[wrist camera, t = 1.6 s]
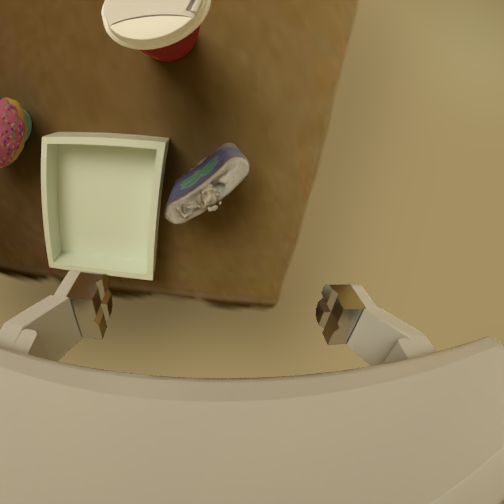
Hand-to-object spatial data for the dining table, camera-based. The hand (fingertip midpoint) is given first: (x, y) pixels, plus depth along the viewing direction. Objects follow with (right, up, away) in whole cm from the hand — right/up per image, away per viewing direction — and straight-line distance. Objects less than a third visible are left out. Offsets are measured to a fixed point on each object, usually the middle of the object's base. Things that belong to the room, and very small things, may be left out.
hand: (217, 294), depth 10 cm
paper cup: (-8, +25, +13) cm, 29 cm away
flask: (-4, +11, +22) cm, 25 cm away
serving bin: (-17, +8, +21) cm, 28 cm away
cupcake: (-28, +17, +13) cm, 36 cm away
